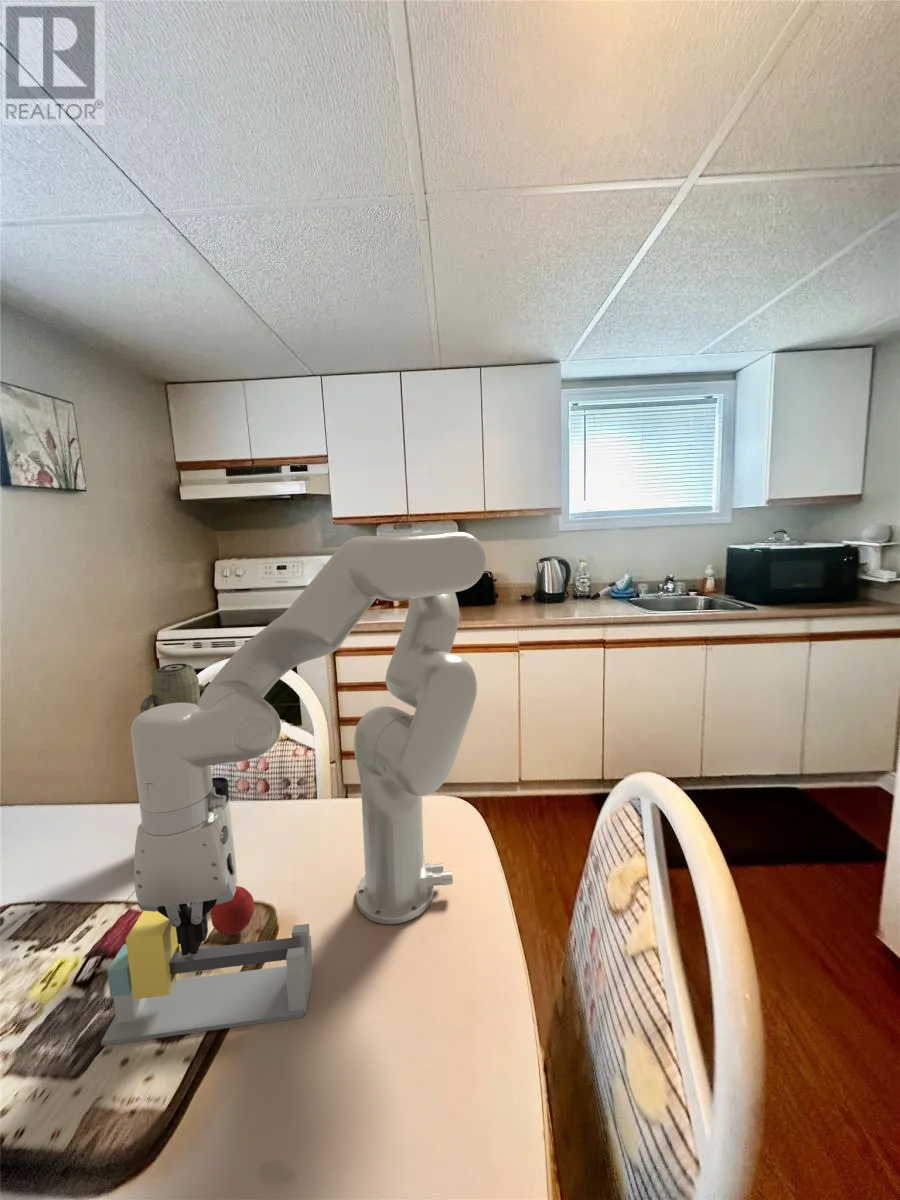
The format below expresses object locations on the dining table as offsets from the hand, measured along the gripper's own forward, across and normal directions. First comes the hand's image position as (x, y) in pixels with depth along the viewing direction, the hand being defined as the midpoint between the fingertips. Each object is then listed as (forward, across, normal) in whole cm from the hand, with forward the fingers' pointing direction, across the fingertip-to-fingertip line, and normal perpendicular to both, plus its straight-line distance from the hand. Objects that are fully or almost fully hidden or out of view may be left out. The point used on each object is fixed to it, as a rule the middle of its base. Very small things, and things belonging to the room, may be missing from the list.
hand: (194, 944), depth 59 cm
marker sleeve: (+5, +4, 0) cm, 6 cm away
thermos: (+9, +14, -35) cm, 39 cm away
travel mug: (+9, +4, -19) cm, 21 cm away
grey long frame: (+9, -2, 0) cm, 9 cm away
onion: (+9, -1, -11) cm, 14 cm away
